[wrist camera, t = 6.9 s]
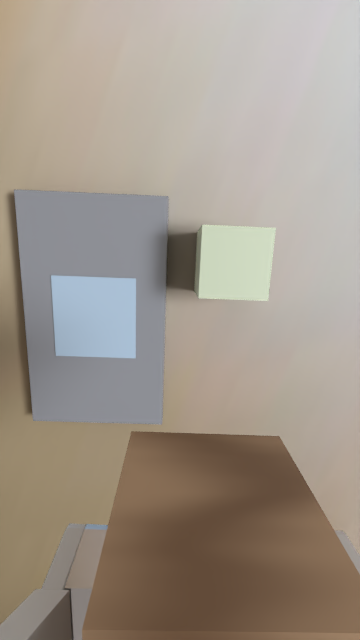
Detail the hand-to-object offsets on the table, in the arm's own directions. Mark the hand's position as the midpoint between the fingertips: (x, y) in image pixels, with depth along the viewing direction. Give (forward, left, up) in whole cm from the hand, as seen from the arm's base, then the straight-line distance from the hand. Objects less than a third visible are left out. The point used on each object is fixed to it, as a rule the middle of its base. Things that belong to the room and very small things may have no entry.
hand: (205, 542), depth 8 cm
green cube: (-3, -8, -18) cm, 20 cm away
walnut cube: (0, 0, -2) cm, 2 cm away
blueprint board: (+8, -3, -18) cm, 20 cm away
